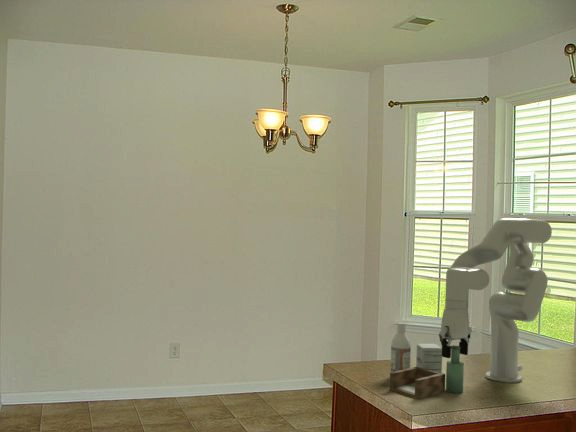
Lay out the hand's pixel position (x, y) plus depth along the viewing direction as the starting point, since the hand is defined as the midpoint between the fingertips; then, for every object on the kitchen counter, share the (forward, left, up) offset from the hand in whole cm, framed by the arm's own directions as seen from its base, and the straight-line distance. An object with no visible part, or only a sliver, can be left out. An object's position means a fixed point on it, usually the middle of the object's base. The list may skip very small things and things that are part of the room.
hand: (454, 355), depth 206 cm
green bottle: (0, 0, -12) cm, 12 cm away
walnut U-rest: (+11, -7, -12) cm, 17 cm away
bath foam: (+3, -21, -12) cm, 24 cm away
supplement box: (-3, -13, -12) cm, 18 cm away
